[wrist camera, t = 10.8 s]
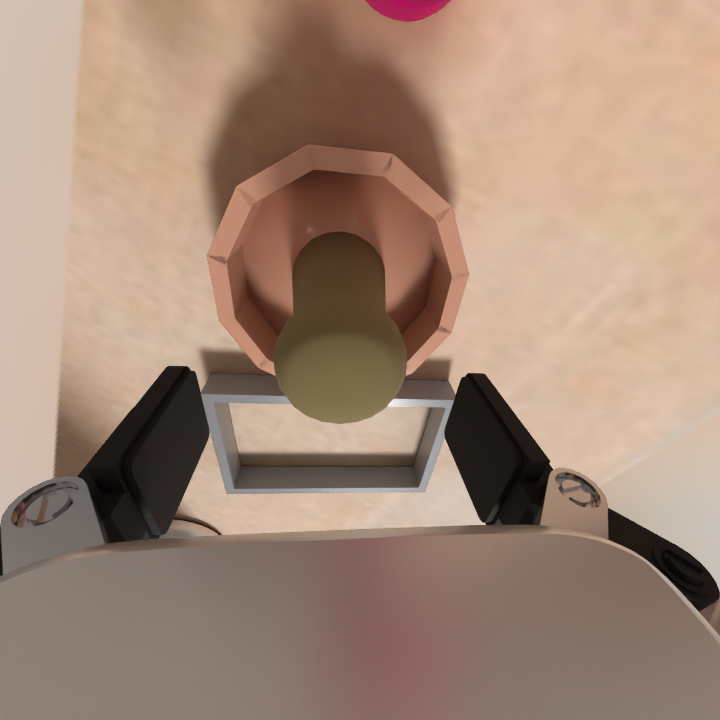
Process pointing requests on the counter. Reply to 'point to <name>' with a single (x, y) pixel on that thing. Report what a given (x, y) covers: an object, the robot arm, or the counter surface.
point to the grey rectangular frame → (320, 477)
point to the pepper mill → (407, 8)
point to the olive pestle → (339, 333)
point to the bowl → (333, 214)
